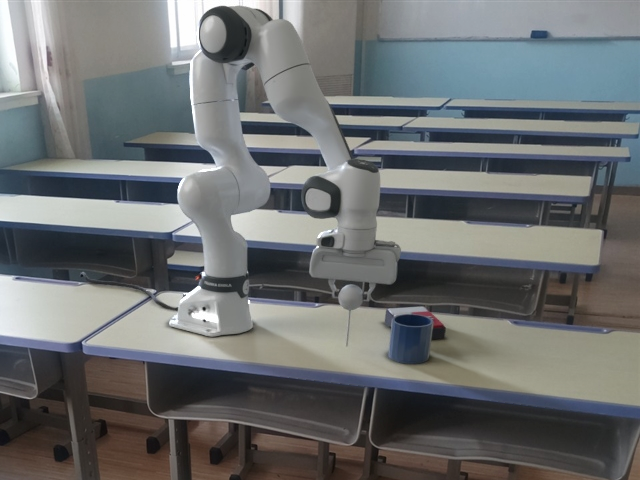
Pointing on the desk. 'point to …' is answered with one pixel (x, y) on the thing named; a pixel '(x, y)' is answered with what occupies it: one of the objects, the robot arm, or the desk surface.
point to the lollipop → (350, 301)
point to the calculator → (437, 325)
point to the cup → (410, 338)
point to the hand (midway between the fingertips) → (350, 298)
